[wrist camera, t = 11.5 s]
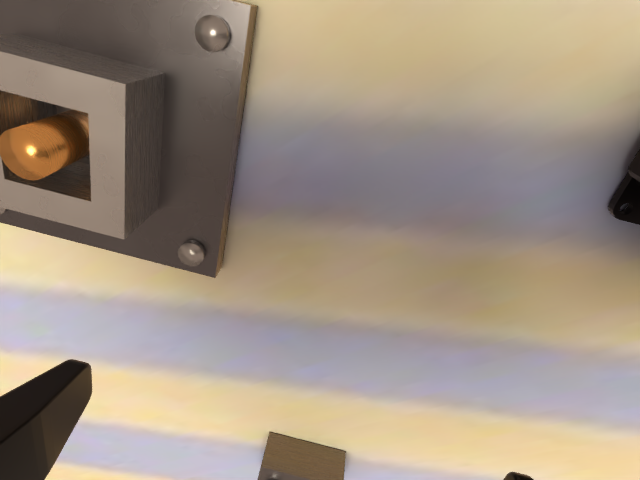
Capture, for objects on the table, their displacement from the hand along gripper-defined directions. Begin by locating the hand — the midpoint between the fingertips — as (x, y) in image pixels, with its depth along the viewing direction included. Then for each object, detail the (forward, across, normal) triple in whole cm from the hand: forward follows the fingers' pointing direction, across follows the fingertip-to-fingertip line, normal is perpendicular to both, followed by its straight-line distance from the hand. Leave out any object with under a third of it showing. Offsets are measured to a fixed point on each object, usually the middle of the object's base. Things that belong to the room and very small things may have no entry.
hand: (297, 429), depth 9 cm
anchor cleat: (+12, -2, +18) cm, 22 cm away
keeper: (+12, +11, -1) cm, 16 cm away
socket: (+11, +11, -1) cm, 16 cm away
